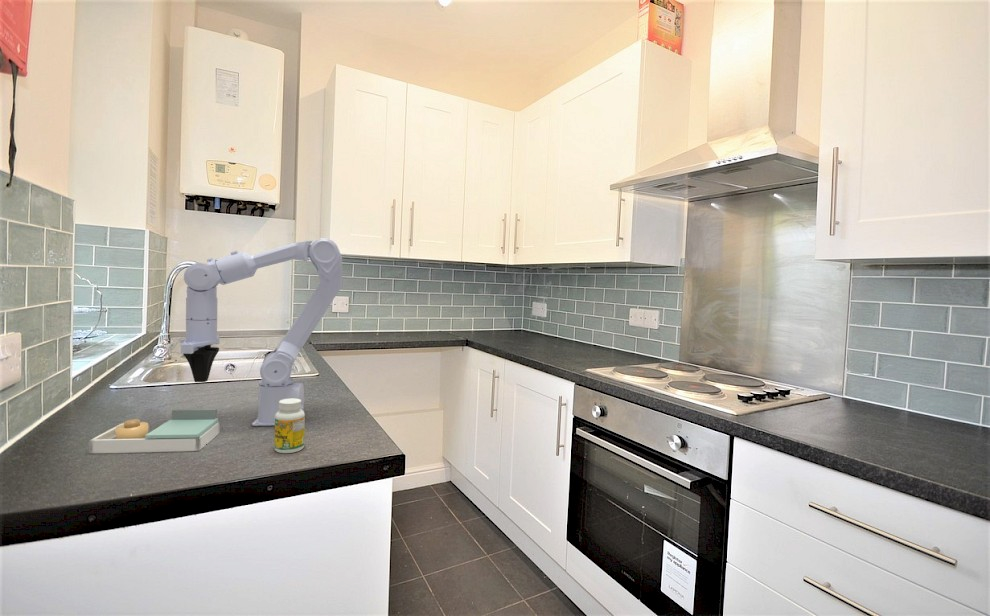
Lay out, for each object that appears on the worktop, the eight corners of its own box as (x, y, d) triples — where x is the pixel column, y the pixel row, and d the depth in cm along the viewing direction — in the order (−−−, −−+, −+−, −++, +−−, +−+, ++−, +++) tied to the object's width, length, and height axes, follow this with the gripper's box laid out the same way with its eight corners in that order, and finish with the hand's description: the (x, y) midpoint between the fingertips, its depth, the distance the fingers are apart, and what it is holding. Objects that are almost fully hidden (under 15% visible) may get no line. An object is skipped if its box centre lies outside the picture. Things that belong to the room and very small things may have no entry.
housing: (219, 433, 97) (219, 422, 97) (199, 450, 87) (199, 438, 87) (121, 434, 93) (121, 423, 93) (89, 453, 83) (88, 440, 83)
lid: (218, 420, 97) (219, 408, 97) (197, 437, 87) (197, 424, 87) (172, 421, 95) (172, 408, 95) (144, 438, 85) (144, 424, 85)
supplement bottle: (310, 447, 91) (311, 400, 91) (286, 456, 87) (287, 406, 86) (292, 442, 94) (293, 395, 93) (268, 450, 89) (269, 401, 89)
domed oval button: (152, 438, 92) (152, 416, 92) (143, 447, 87) (142, 424, 87) (122, 440, 90) (121, 418, 90) (111, 449, 86) (110, 426, 85)
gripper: (195, 315, 105) (195, 374, 106) (164, 321, 91) (163, 389, 92) (229, 316, 107) (228, 374, 108) (203, 322, 93) (202, 389, 93)
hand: (201, 381), depth 100 cm, fingers closed
